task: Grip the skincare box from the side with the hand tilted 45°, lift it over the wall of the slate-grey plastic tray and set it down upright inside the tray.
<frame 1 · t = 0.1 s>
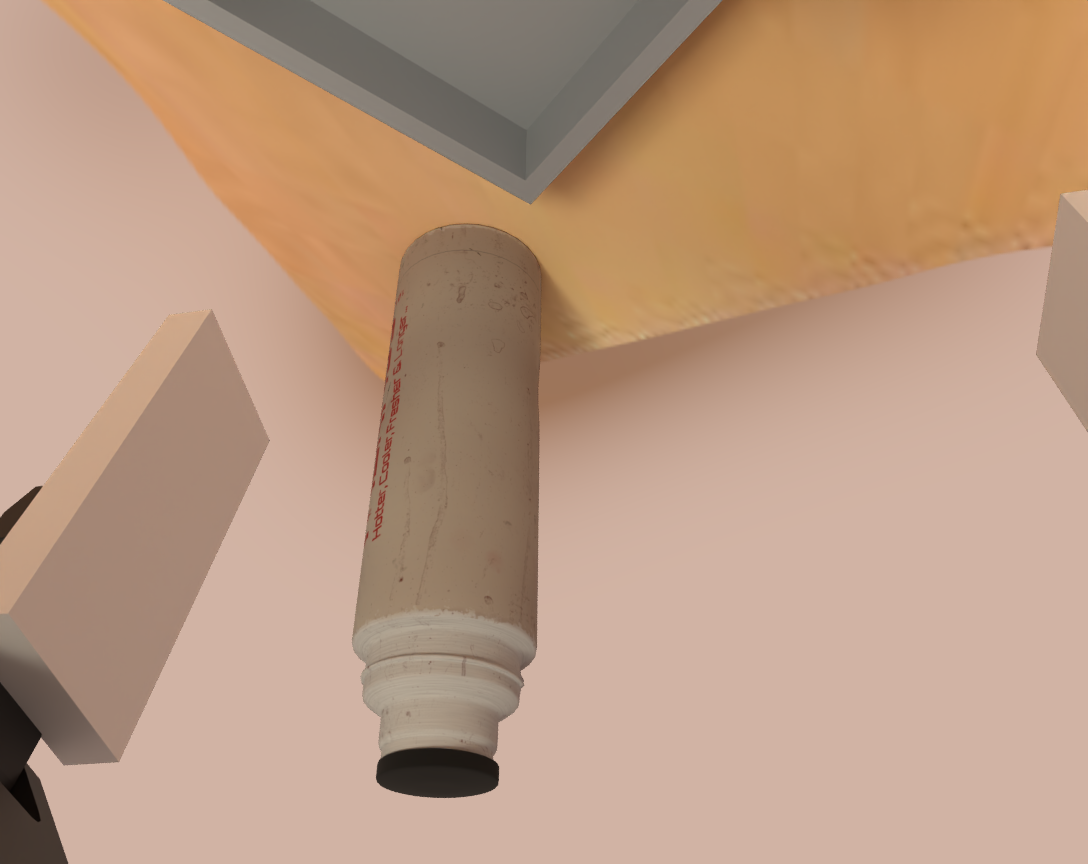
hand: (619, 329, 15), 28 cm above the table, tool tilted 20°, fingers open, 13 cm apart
thermos bottle: (471, 272, 54), on the table
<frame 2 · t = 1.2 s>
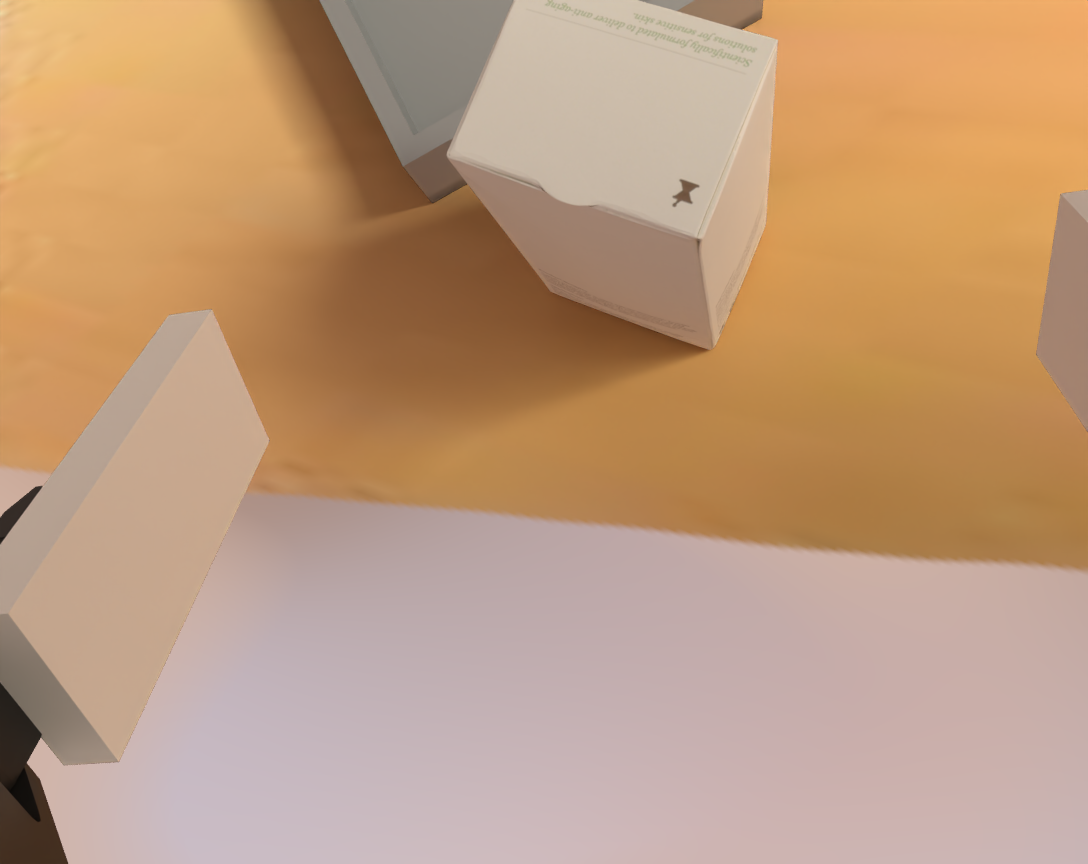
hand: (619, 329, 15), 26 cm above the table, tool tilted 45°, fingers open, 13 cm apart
skincare box: (650, 262, 42), on the table
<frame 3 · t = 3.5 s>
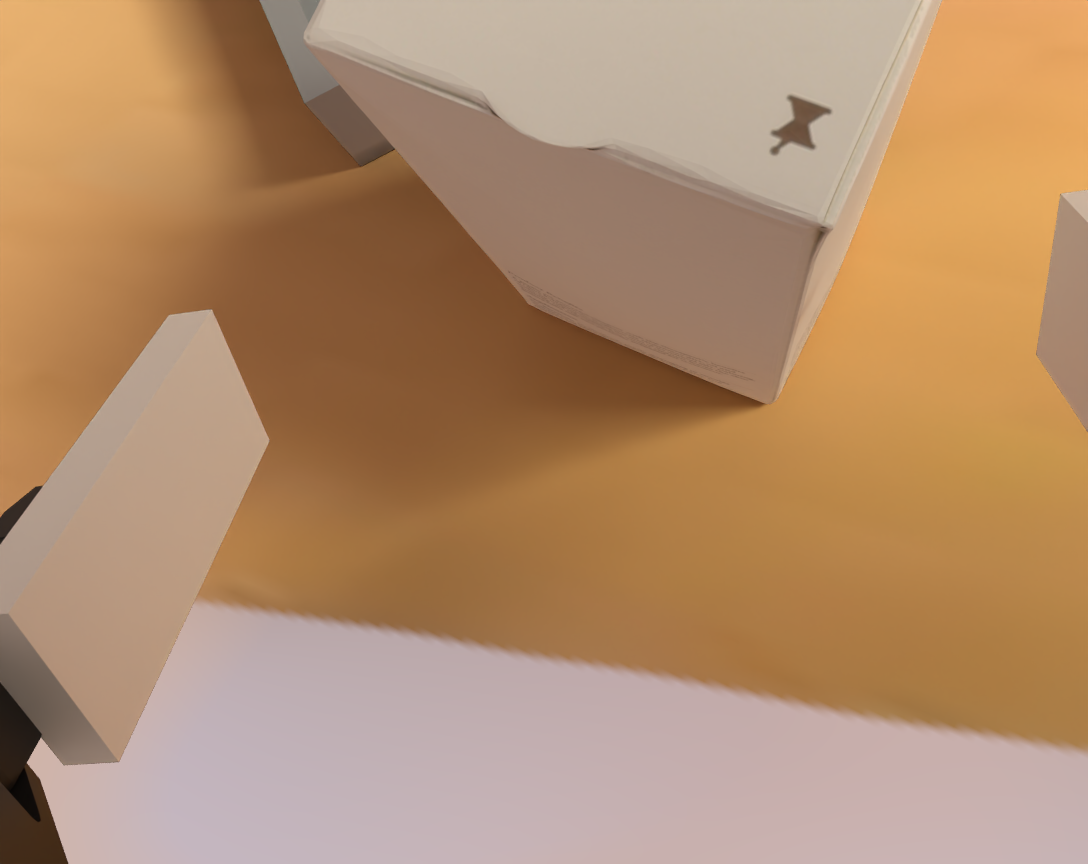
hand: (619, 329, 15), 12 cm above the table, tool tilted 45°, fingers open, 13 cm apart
skincare box: (681, 267, 28), on the table
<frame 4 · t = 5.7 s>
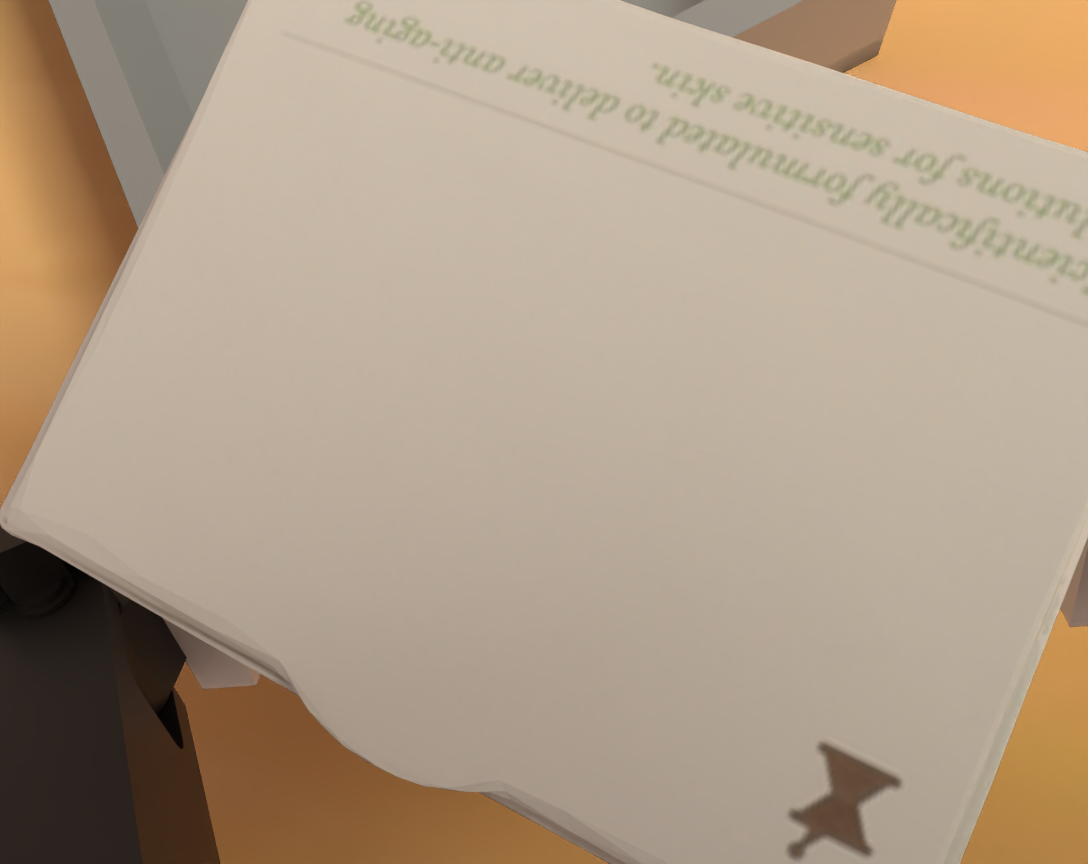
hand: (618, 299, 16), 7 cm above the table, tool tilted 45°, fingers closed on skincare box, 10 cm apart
skincare box: (658, 504, 23), on the table, touching gripper
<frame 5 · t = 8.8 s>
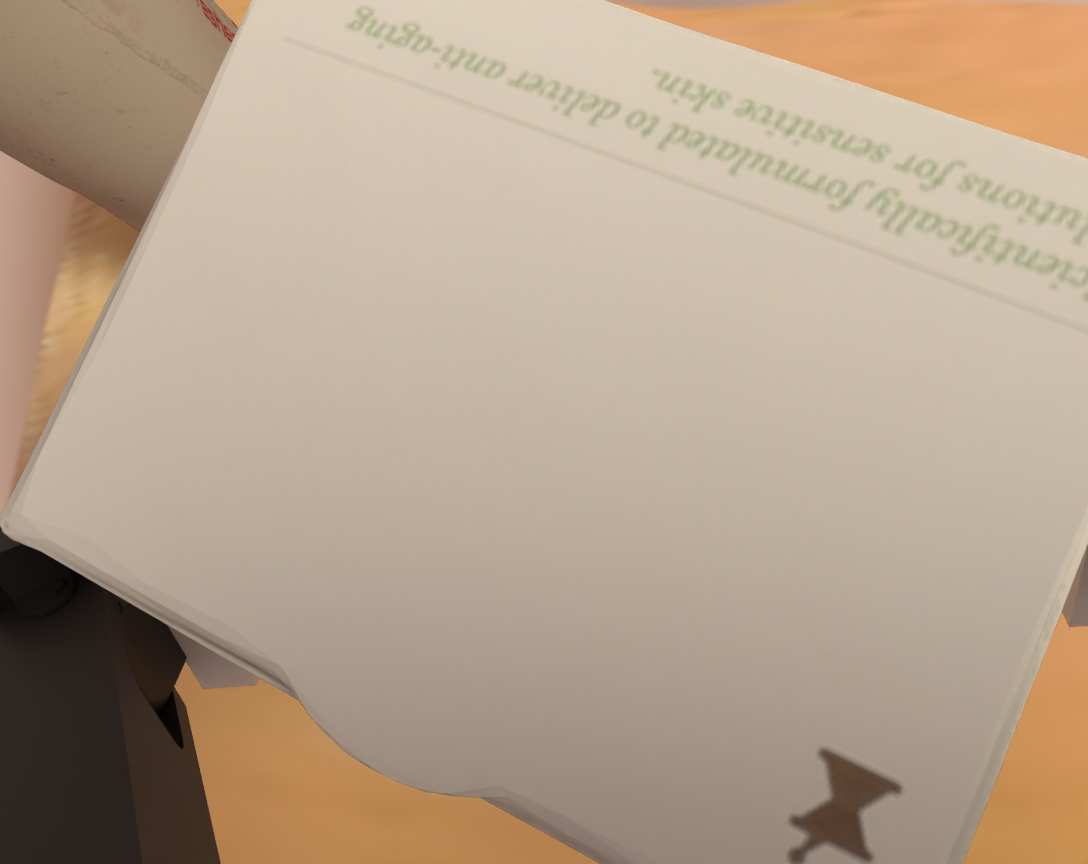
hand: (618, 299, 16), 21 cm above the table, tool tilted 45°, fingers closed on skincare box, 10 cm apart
skincare box: (658, 506, 23), point 14 cm above the table, touching gripper
thermos bottle: (262, 195, 41), on the table
when the fingers open (9 cm above the table, at t = 12.3 s): skincare box drops 2 cm, resting on tray.
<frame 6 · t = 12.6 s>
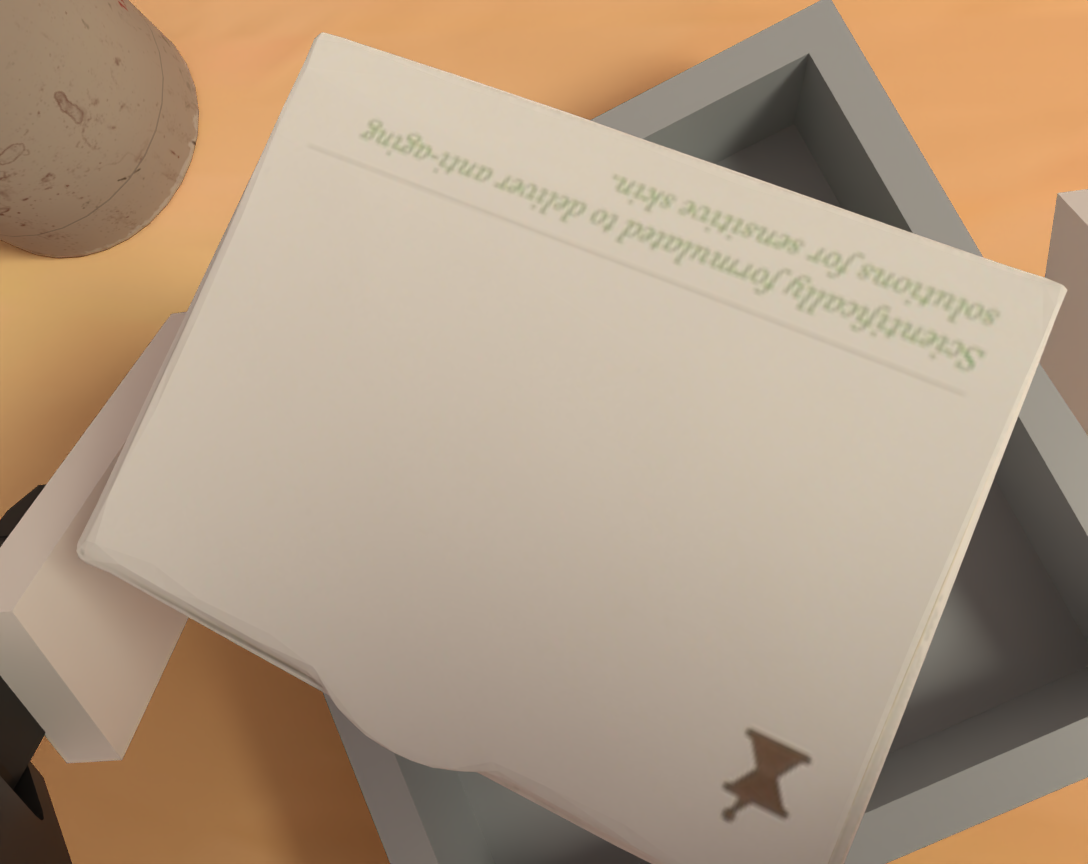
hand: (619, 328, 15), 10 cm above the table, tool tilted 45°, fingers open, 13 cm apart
tray: (661, 509, 25), on the table
skincare box: (646, 514, 24), point 1 cm above the table, touching tray
thermos bottle: (84, 136, 29), on the table
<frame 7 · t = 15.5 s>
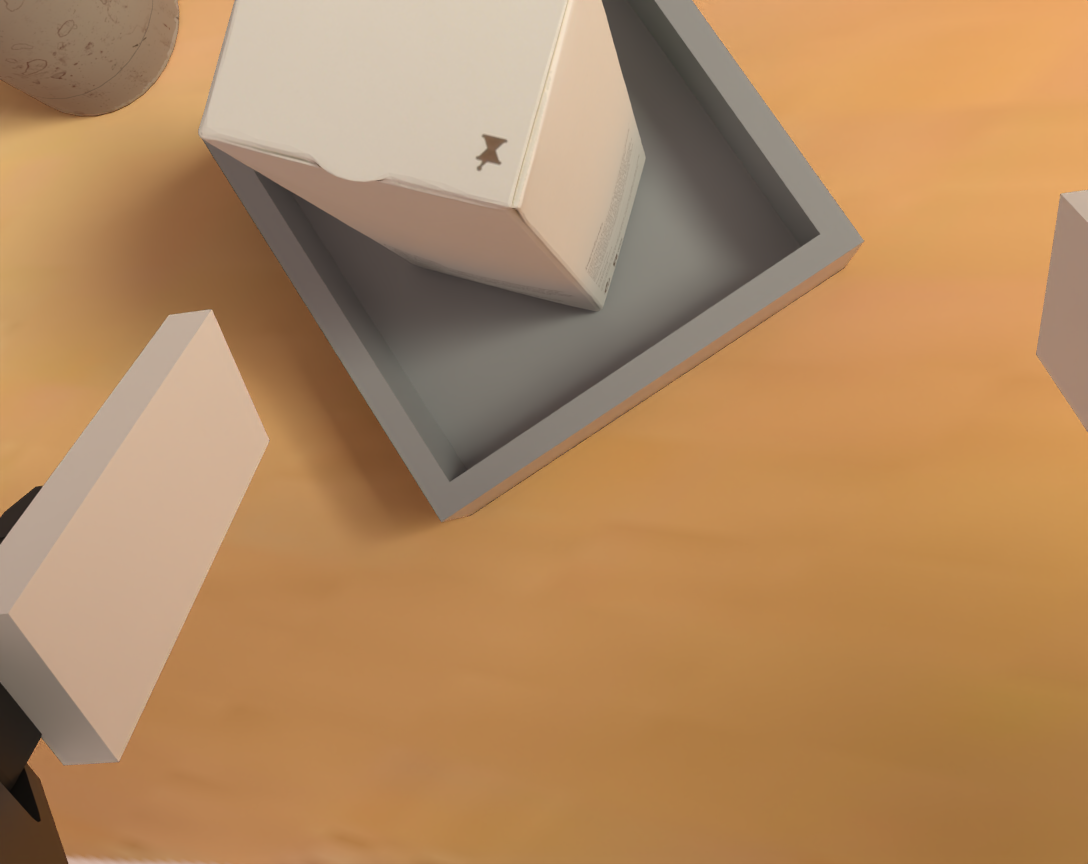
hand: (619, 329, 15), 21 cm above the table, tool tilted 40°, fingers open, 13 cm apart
tray: (532, 215, 37), on the table
skincare box: (521, 217, 37), point 1 cm above the table, touching tray
thermos bottle: (97, 27, 41), on the table
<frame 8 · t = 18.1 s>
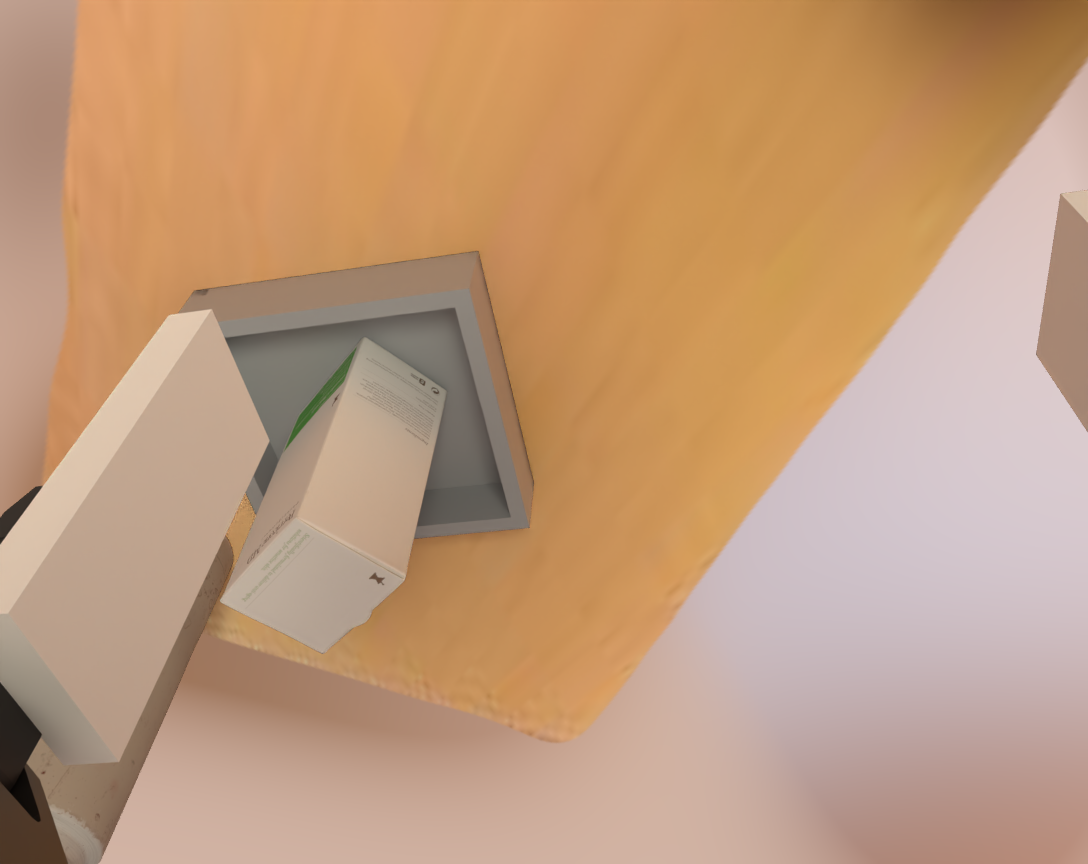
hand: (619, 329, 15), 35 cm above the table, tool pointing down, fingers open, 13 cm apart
tray: (374, 393, 59), on the table
skincare box: (374, 403, 59), point 1 cm above the table, touching tray
thermos bottle: (179, 544, 68), on the table
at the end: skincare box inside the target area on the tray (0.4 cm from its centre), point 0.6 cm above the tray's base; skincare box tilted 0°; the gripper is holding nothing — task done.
